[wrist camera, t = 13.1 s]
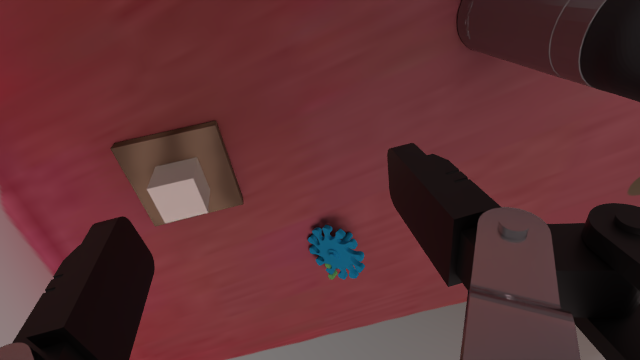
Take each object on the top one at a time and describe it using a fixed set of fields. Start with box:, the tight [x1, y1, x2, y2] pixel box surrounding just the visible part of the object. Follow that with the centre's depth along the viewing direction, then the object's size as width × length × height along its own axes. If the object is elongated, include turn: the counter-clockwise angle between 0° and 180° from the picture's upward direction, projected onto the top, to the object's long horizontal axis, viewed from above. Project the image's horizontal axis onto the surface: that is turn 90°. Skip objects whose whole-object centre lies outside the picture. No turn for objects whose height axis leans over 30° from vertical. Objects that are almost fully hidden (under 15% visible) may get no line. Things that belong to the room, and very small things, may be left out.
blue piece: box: [308, 225, 365, 280], centre depth 53 cm, size 11×6×10 cm
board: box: [111, 121, 243, 226], centre depth 40 cm, size 12×12×5 cm
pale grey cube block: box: [147, 157, 210, 223], centre depth 39 cm, size 5×5×5 cm
